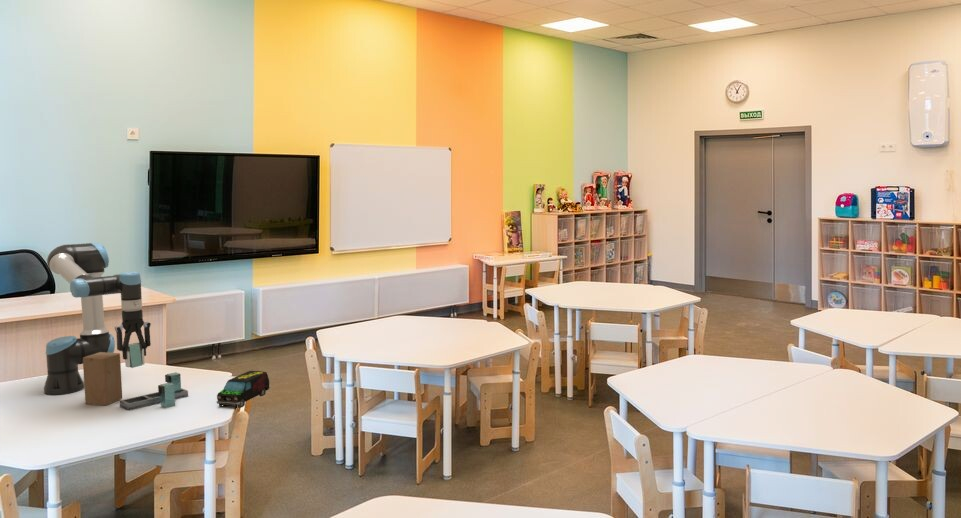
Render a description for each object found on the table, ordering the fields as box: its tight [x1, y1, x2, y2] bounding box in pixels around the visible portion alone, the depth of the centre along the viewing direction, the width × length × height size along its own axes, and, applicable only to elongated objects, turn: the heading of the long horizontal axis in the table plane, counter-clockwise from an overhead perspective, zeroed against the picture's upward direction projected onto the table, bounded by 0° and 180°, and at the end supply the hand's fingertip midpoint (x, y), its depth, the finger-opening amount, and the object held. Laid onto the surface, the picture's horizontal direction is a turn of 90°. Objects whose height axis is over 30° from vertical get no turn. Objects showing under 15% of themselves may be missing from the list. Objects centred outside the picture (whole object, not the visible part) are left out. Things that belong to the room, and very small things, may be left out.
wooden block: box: [82, 352, 123, 406], centre depth 288 cm, size 10×10×20 cm
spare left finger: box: [157, 382, 176, 409], centre depth 283 cm, size 4×5×9 cm
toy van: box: [216, 370, 271, 409], centre depth 292 cm, size 11×25×10 cm, turn 166°
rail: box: [119, 372, 189, 411], centre depth 289 cm, size 8×25×10 cm, turn 140°
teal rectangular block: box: [127, 342, 143, 369], centre depth 282 cm, size 4×5×9 cm
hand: (135, 365), depth 282 cm, fingers closed on teal rectangular block, 5 cm apart
